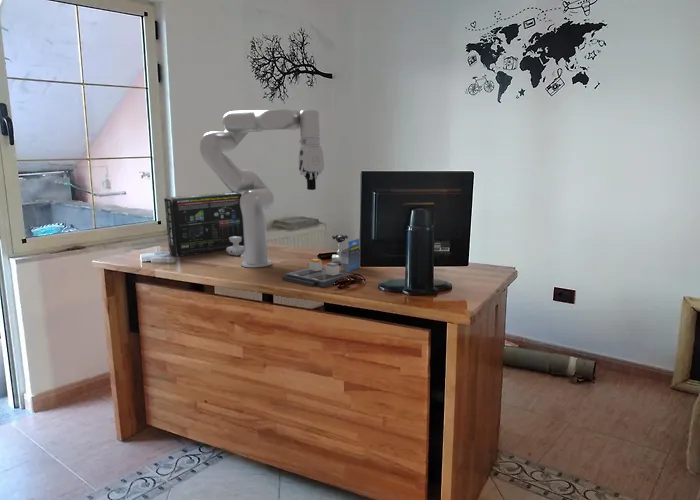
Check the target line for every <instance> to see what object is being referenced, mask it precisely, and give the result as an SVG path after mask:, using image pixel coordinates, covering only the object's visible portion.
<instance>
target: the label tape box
mask: <svg viewBox="0 0 700 500" xmlns="http://www.w3.org/2000/svg"><path fill="white" fill-rule="evenodd" d="M359 241H360V238H355V239H353V240H350V241H347V243H348V247H346V248H345V249H342V251H341V264H340V272H344V273H350V272H352V271H354V270H356V269H359V268H360V258H359Z"/></svg>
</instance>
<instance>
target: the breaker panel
mask: <svg viewBox="0 0 700 500" xmlns="http://www.w3.org/2000/svg"><path fill="white" fill-rule="evenodd" d="M324 269H325V268H323V269H322V270H319V271H313V270H309V267H307V268H303V269H299V270H295V271H291V272H287V273H285V275H284V276H287V277H292V278H296V279H301V280H306V281H310V282H315V286H316V287H320V288H327V287H330V286H333V284H334V282H335V281H336V280H338V279H340V278H343V277H347V276H350V275H349V274H350V273H349V274H344V273H345V272H344V273H339V274H338V275H334V276H333V275H328V274H326V270H324ZM334 285H335V284H334ZM315 286H314V287H315Z"/></svg>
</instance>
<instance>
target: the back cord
mask: <svg viewBox="0 0 700 500" xmlns="http://www.w3.org/2000/svg"><path fill="white" fill-rule="evenodd" d="M322 269H324V270H326V268H324V267H322ZM339 273H344V274H349V275H354V276H355V274H353V273H350V272H344V271H339Z"/></svg>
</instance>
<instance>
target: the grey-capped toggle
mask: <svg viewBox="0 0 700 500" xmlns="http://www.w3.org/2000/svg"><path fill="white" fill-rule="evenodd" d="M325 269H326V274H328V275H333V276H334V275H338V274H339V272H340V265H339V264H338V263H332V261H331V262H328V263H326V265H325Z"/></svg>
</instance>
